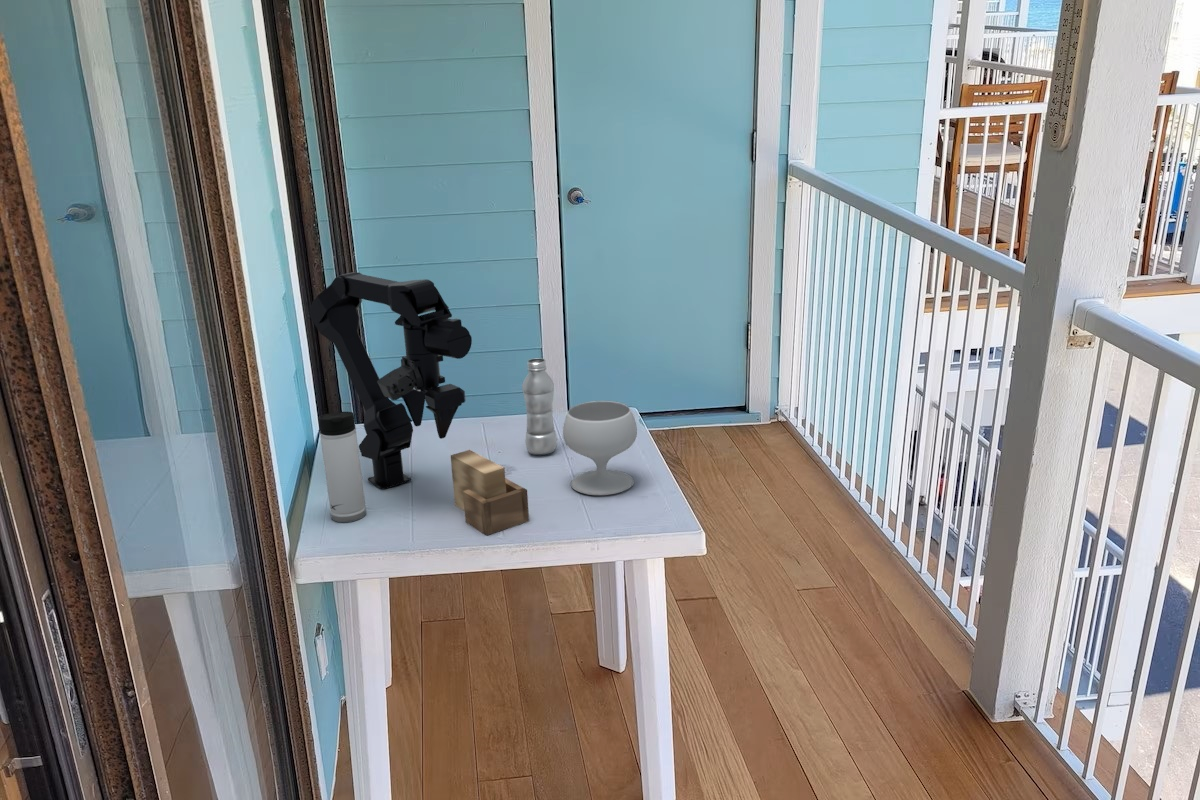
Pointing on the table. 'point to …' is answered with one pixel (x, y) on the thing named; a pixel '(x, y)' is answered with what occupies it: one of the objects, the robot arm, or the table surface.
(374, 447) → the robot arm
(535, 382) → the plastic bottle
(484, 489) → the tan wooden block
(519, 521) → the end cap
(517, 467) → the table surface
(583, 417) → the chalice
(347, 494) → the travel mug
